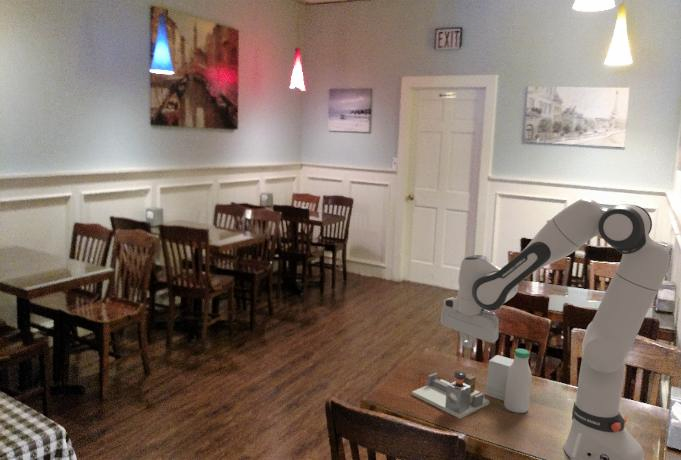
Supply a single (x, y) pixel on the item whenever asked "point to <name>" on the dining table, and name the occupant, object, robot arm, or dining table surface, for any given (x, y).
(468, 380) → the carriage
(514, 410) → the milk bottle
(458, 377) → the knob
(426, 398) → the rail bed
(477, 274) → the robot arm
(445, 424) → the dining table surface
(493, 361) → the supplement box
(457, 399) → the cabinet
